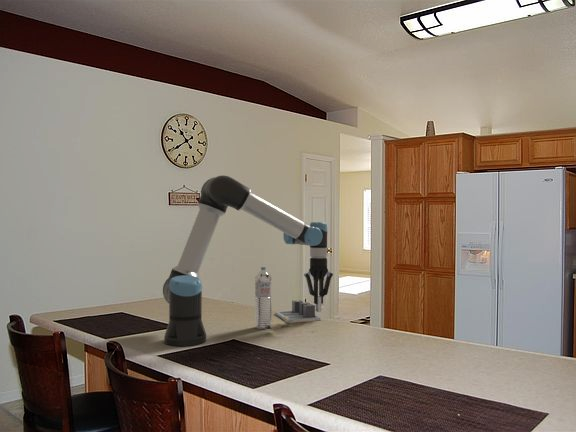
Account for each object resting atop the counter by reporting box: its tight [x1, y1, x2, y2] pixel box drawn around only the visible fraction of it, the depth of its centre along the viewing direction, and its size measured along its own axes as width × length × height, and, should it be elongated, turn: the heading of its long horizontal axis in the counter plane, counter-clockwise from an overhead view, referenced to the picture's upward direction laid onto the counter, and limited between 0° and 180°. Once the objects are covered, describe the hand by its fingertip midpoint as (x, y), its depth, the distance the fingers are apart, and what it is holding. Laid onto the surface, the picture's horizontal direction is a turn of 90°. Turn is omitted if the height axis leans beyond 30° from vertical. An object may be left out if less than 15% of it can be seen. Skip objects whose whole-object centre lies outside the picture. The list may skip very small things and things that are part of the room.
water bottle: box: [254, 266, 273, 330], centre depth 205 cm, size 7×7×25 cm
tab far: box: [291, 299, 304, 313], centre depth 227 cm, size 4×4×6 cm
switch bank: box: [274, 310, 321, 323], centre depth 220 cm, size 19×15×3 cm
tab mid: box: [299, 301, 311, 315], centre depth 221 cm, size 4×4×6 cm
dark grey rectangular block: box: [303, 303, 316, 318], centre depth 215 cm, size 4×4×6 cm
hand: (318, 311), depth 217 cm, fingers closed
